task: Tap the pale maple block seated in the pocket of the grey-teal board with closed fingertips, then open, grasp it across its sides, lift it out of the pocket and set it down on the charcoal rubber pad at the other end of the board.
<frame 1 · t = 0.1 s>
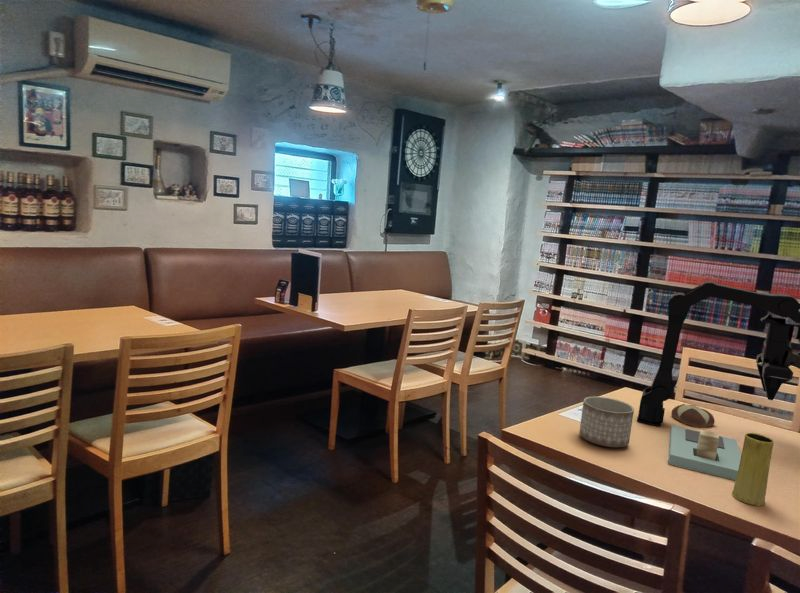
hand: (768, 395, 149), 15 cm above the table, fingers open, 9 cm apart
pocket board: (703, 455, 141), on the table
maple block: (704, 464, 135), resting in pocket board
vase: (747, 499, 119), on the table
bread: (692, 422, 167), on the table
planter: (603, 441, 145), on the table
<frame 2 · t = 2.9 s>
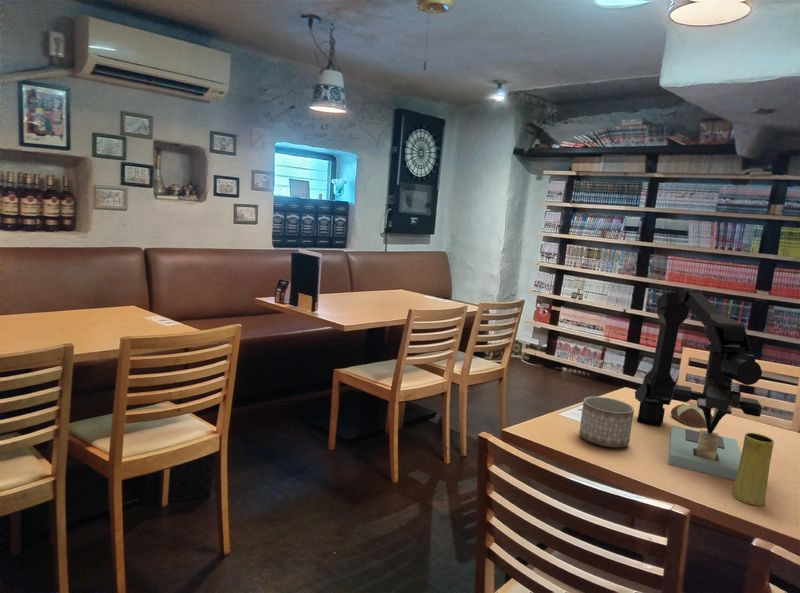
hand: (709, 432, 134), 8 cm above the table, fingers closed
nothing on the table moved.
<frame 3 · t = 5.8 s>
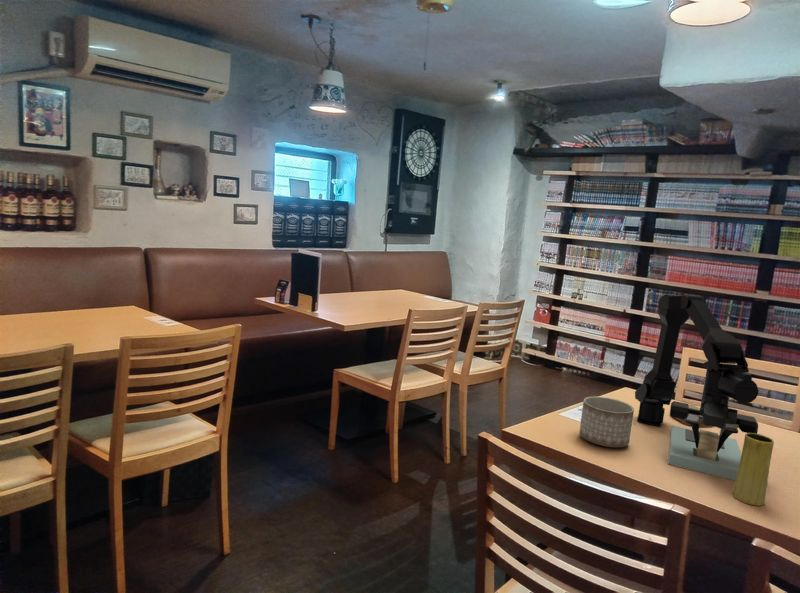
hand: (706, 449, 135), 4 cm above the table, fingers closed on maple block, 4 cm apart
maple block: (704, 464, 135), resting in pocket board, touching gripper
everything else where it was.
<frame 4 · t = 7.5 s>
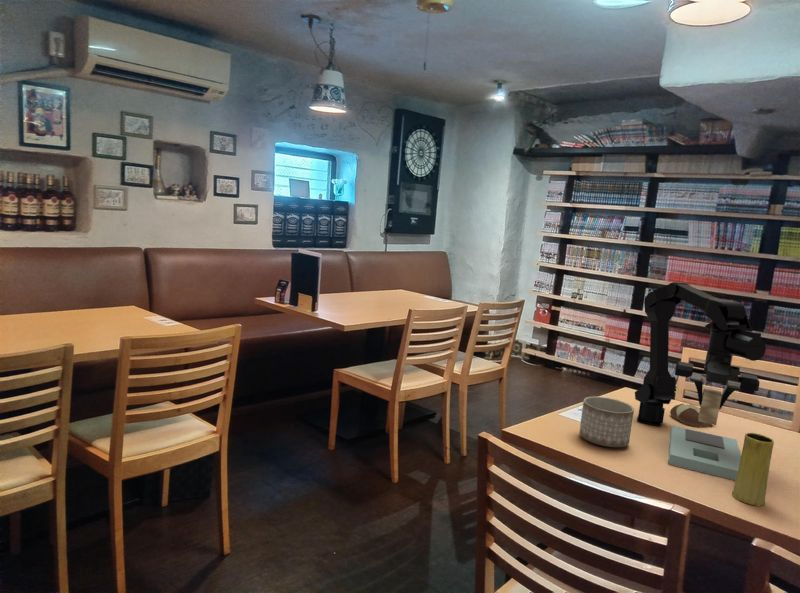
hand: (709, 407, 141), 13 cm above the table, fingers closed on maple block, 4 cm apart
maple block: (707, 420, 142), point 9 cm above the table, touching gripper
everything else where it was.
when the fingers open (8 cm above the table, at t = 9.0 s): maple block drops 1 cm, resting on pocket board.
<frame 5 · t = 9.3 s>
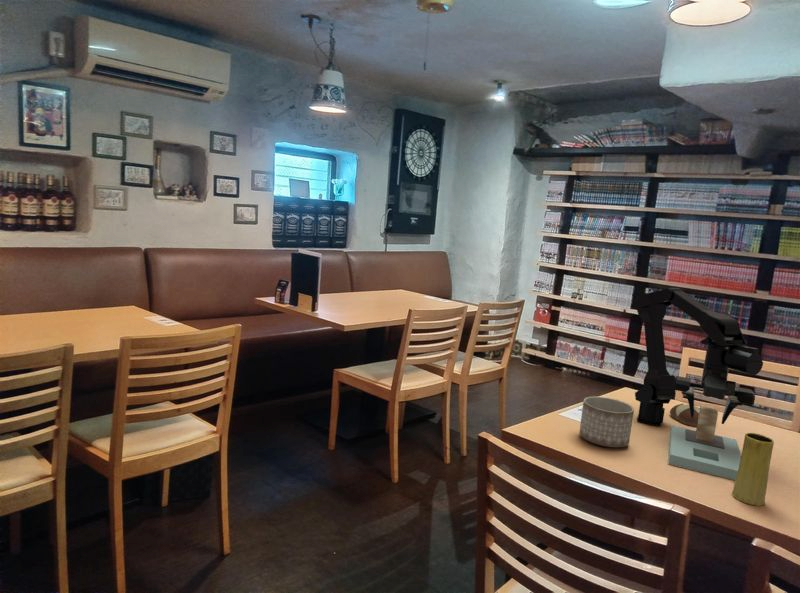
hand: (707, 420, 145), 8 cm above the table, fingers open, 7 cm apart
maple block: (704, 438, 146), point 3 cm above the table, touching pocket board
everything else where it was.
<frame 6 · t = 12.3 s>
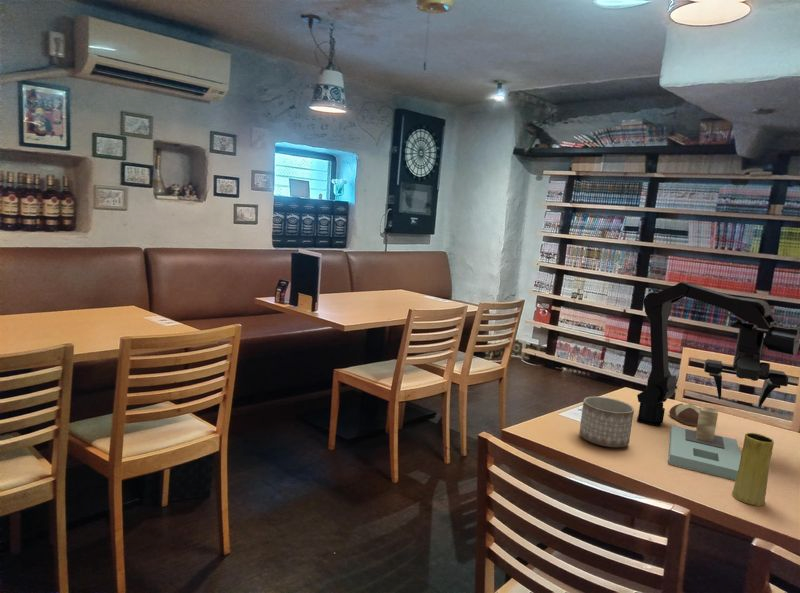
hand: (739, 402, 146), 13 cm above the table, fingers open, 9 cm apart
nothing on the table moved.
at the end: maple block inside the target area on the pocket board (0.0 cm from its centre), point 2.8 cm above the pocket board's base; maple block tilted 0°; the gripper is holding nothing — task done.
